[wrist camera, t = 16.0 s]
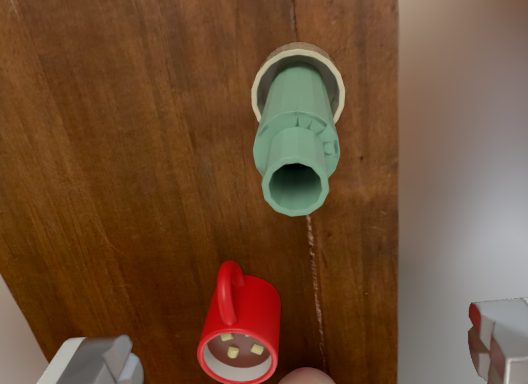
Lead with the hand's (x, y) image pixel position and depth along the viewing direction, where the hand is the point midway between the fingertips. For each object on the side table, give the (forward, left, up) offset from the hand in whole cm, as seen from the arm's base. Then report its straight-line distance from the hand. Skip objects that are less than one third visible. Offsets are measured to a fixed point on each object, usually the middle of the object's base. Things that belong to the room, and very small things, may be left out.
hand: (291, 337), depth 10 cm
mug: (+21, -10, -28) cm, 36 cm away
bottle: (0, 0, -27) cm, 27 cm away
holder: (0, 0, -28) cm, 28 cm away
